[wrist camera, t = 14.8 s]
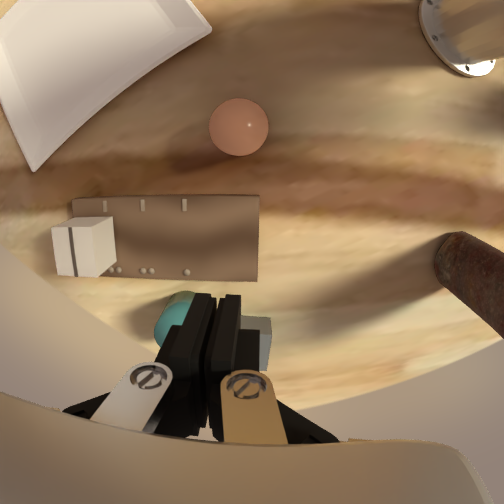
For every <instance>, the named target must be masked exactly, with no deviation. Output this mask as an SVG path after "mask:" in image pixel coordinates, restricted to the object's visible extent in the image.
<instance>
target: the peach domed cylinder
mask: <svg viewBox="0 0 504 504" xmlns="http://www.w3.org/2000/svg"><path fill="white" fill-rule="evenodd" d="M268 129H269V123H268V119H267V116H266V114H265V112H264V110H263V109H262V108H261V107H260V106H259V105H258V104H256V103H255V102H253V101H251V100H248V99H243V98H235V99H230V100H227V101H225V102H223V103H222V104H220V105H219V106H218V107H217V108H216V109H215V110H214V112H213V114H212V115H211V118H210V121H209V133H210V137H211V139H212V141H213V142H214V144H215V145H216V146H217V147H218V148H219V149H220V150H222V151H223V152H225V153H227V154H230V155H235V156H246V155H250V154H252V153H254V152H256V151H257V150H258V149H259V148H260V147H261V145H262V144H263V143H264V141H265V139H266V137H267V135H268Z"/></svg>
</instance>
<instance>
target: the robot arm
mask: <svg viewBox="0 0 504 504" xmlns="http://www.w3.org/2000/svg"><path fill="white" fill-rule="evenodd" d="M418 15H419V22H420V25H421V29H422V31H423V34H424V36H425V38H426V40H427V41H428V43H429V45H430V46H431V48H432V49H433V51H434V52H435V53H436V54H437V56H438V57H439V58H440V59H441V60H442V61H443V62H444V63H445V64H446V65H448V66H449V67H450V68H451V69H453V70H455V71H456V72H458V73H460V74H462V75H465V76H468V77H480V76H483V75H486V74H487V73H489V72H490V71H491V70H492V69H493V67H494V64H495V60H496V59H499V58H503V57H504V0H422V1H421V3H420V6H419V14H418ZM259 358H260V330H257V329H241V295H229V294H226V297H225V298H220V300H219V304H218V308H217V301H216V298H212V297H211V294H208V293H196V294H195V296H194V298H193V300H192V303H191V305H190V307H189V309H188V312H187V314H186V316H185V319H184V321H183V323H182V325H172V326H171V327H170V329H169V331H168V333H167V336H166V338H165V340H164V342H163V344H162V346H161V348H160V350H159V353H158V355H157V357H156V359H155V361H154V362H144V363H140V364H137V365H135V366H133V367H132V368H131V369H129V370H128V371H127V372H126V374H125V375H124V376H123V377H122V379H121V380H120V382H119V383H118V384H117V385H116V386H115V388H114V389H113V390H112V391H111V392H109V393H106V394H104V395H101V396H98V397H95V398H93V399H90V400H87V401H85V402H82V403H79V404H76V405H73V406H70V407H68V408H66V409H64V410H63V411H62V412H61V411H60V410H59V408H49V407H45V406H41V405H39V404H36V403H33V402H30V401H27V400H23V399H21V398H18V397H15V396H12V395H9V394H6V393H3V392H0V504H494V503H493V501H492V499H491V496H490V494H489V492H488V490H487V488H486V486H485V484H484V483H483V481H482V479H481V477H480V476H479V474H478V473H477V471H476V469H475V468H474V467H473V465H472V464H471V462H470V461H469V460H468V459H467V458H466V457H465V456H464V455H463V454H462V453H461V452H459V451H458V450H457V449H455V448H453V447H450V446H447V445H444V444H440V443H436V442H430V441H422V440H406V439H390V440H362V439H350V438H349V439H348V441H347V442H343V441H339V440H338V439H337V438H336V437H335V436H334V435H332V434H331V433H329V432H328V431H326V430H324V429H323V428H321V427H319V426H318V425H316V424H314V423H313V422H311V421H310V420H308V419H306V418H305V417H303V416H302V415H300V414H298V413H297V412H295V411H294V410H292V409H291V408H289V407H288V406H286V405H285V404H283V403H281V402H280V401H278V400H277V399H276V396H275V393H274V389H273V385H272V383H271V381H270V379H269V378H268V377H267V376H266V375H264V374H262V373H260V372H259ZM208 416H209V426H210V428H212V432H213V437H215V438H216V439H217V440H218V441H219V442H217V441H206V440H197V439H188V438H186V437H188V436H190V435H193V436H198V434H199V429H200V427H202V428H205V427H206V423H207V417H208Z"/></svg>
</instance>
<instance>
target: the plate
mask: <svg viewBox="0 0 504 504" xmlns="http://www.w3.org/2000/svg"><path fill="white" fill-rule="evenodd" d="M211 31H212V27H211V26H210V25H209V23H208V22H207V21H206V19H205V18H204V17H203V16H202V14H201V13H200V12H199V10H198V9H197V8H196V7H195V5H194V4H193V3H192V2H191V0H18V1H17V2H16V3H15V4H14V5H13V6H12V7H11V8H10V9H9V10H8V12H7V13H6V14H5V15H4V16H3V17H2V18H1V19H0V102H1V105H2V107H3V110H4V112H5V115H6V117H7V119H8V122H9V124H10V126H11V129H12V131H13V133H14V135H15V137H16V140H17V142H18V144H19V146H20V148H21V150H22V152H23V154H24V156H25V158H26V160H27V162H28V164H29V166H30V168H31V170H32V171H33V172H35V171H36V170H37V169H38V168H39V167H40V166H41V165H42V164H43V163H44V162H45V161H46V160H47V159H48V158H49V157H50V156H51V155H52V154H53V152H54V151H55V150H56V149H57V148H58V147H59V146H61V145H62V144H63V143H64V142H65V141H66V140H67V139H68V138H69V137H70V136H71V135H72V134H73V133H74V132H75V131H76V130H77V129H78V128H80V127H81V126H82V125H83V124H84V123H85V122H86V121H87V120H88V119H90V118H91V117H92V116H93V115H94V114H95V113H96V112H98V111H99V110H100V109H101V108H102V107H104V106H105V105H106V104H107V103H108V102H110V101H111V100H112V99H113V98H115V97H116V96H117V95H118V94H120V93H121V92H122V91H124V90H125V89H126V88H127V87H129V86H130V85H131V84H133V83H134V82H135V81H137V80H138V79H140V78H141V77H142V76H144V75H145V74H146V73H148V72H149V71H151V70H152V69H154V68H155V67H157V66H158V65H159V64H161V63H162V62H164V61H165V60H167V59H168V58H170V57H172V56H173V55H175V54H176V53H178V52H179V51H181V50H183V49H184V48H186V47H187V46H189V45H191V44H192V43H194V42H196V41H197V40H199V39H201V38H203V37H204V36H206V35H208V34H210V33H211Z"/></svg>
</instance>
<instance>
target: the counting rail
mask: <svg viewBox="0 0 504 504" xmlns="http://www.w3.org/2000/svg"><path fill="white" fill-rule="evenodd" d="M259 202H260V196H259V195H240V194H166V195H126V196H101V197H81V198H75V199H72V211H73V218H75V217H113V228H114V240H115V250H116V260H117V261H116V262H115V263H114V264H113V265H112V266H110V267H109V268H108V269H107V270H106V271H104V272H103V273H102V274H101V275H100V276H109V277H129V278H151V279H177V280H207V281H247V282H257V276H258V240H259Z"/></svg>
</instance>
